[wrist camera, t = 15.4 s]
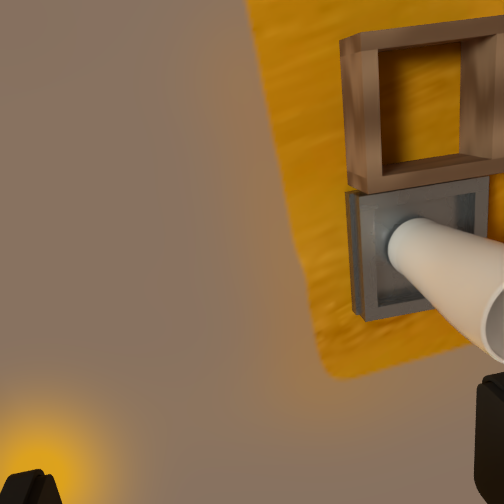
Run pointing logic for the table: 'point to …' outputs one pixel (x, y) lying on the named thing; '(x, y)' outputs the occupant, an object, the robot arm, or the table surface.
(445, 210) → the metal cradle
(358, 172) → the frame
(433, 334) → the table surface
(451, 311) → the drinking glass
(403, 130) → the table surface
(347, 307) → the table surface
